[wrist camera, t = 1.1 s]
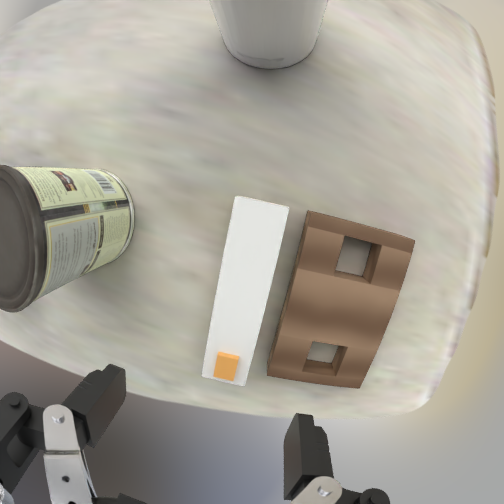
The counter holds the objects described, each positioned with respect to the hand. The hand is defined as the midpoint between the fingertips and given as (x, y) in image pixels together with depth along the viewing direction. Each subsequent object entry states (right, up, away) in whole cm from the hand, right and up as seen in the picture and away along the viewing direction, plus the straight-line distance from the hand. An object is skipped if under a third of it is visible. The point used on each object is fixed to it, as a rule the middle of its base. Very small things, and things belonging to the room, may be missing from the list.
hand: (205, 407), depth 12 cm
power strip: (+1, +4, +16) cm, 16 cm away
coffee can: (-14, +11, +16) cm, 24 cm away
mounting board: (+10, +2, +16) cm, 19 cm away
